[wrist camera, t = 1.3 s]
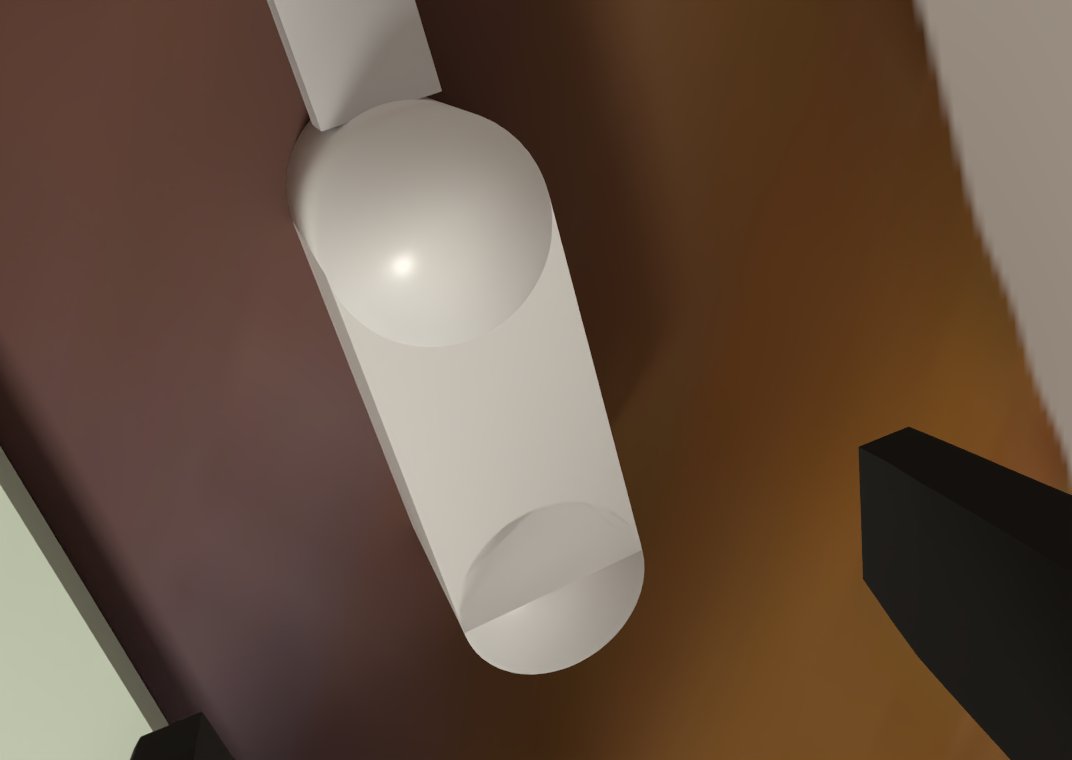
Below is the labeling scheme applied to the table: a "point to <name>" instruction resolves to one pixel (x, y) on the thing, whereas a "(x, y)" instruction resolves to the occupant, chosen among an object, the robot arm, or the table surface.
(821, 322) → the table surface
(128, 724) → the sage board
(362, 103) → the grey connector
